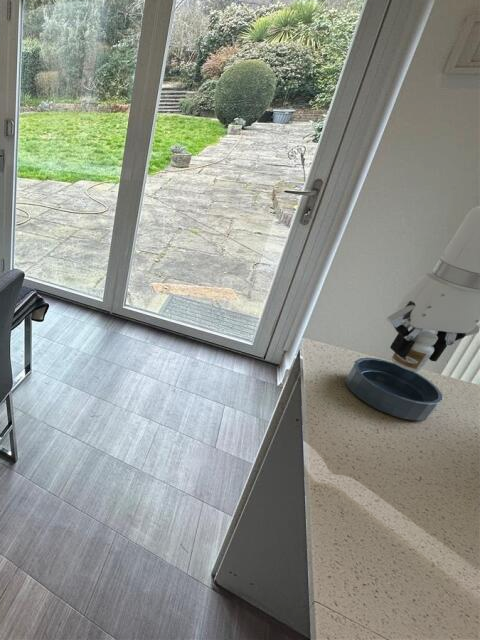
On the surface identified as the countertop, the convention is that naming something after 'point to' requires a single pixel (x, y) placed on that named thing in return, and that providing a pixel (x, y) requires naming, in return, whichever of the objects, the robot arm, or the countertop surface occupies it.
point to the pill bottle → (417, 352)
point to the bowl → (393, 389)
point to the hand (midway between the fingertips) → (412, 353)
